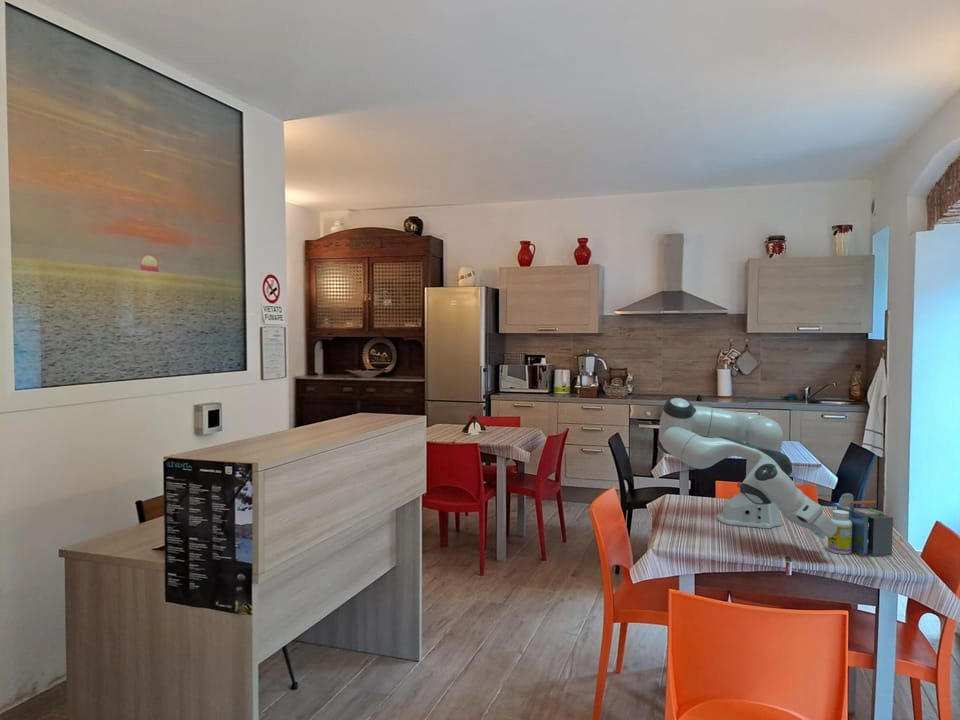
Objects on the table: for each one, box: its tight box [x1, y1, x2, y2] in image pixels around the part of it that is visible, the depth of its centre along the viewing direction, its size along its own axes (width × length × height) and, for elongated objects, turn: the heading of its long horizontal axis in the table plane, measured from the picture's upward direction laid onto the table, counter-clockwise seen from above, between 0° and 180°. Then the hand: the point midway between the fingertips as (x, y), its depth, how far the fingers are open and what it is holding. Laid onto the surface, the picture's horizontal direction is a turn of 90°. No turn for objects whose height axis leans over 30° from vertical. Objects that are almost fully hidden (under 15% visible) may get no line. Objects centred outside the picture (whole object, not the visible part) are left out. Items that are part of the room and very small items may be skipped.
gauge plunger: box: [836, 500, 877, 555], centre depth 217 cm, size 10×12×15 cm
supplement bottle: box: [827, 509, 852, 555], centre depth 215 cm, size 7×7×13 cm
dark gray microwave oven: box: [854, 507, 894, 557], centre depth 217 cm, size 7×12×13 cm, turn 12°
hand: (821, 535), depth 214 cm, fingers closed
